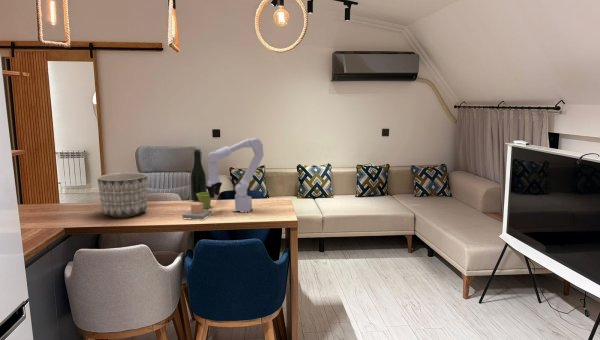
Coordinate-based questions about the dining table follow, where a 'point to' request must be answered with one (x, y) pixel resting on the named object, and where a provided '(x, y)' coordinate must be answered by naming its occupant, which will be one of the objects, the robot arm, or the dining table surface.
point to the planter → (123, 193)
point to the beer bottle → (197, 177)
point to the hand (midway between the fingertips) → (214, 196)
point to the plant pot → (204, 199)
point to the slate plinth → (197, 216)
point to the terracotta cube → (197, 208)
